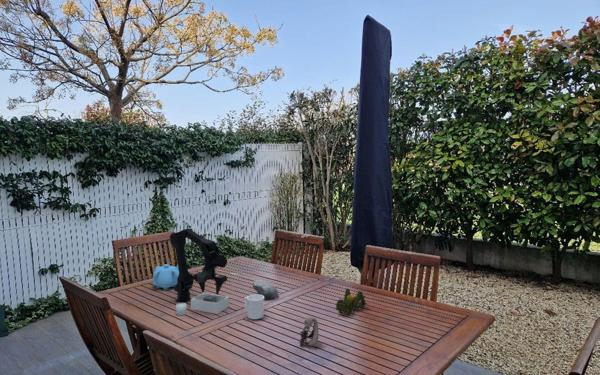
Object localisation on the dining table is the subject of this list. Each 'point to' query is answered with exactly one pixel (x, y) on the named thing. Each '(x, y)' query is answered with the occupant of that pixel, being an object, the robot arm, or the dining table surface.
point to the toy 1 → (314, 333)
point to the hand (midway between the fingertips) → (210, 293)
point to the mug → (255, 306)
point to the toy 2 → (350, 302)
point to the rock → (265, 289)
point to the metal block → (210, 298)
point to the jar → (180, 309)
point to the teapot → (165, 276)
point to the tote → (210, 303)
